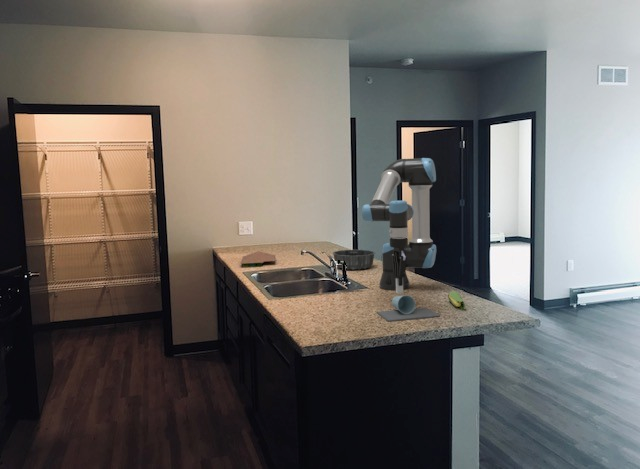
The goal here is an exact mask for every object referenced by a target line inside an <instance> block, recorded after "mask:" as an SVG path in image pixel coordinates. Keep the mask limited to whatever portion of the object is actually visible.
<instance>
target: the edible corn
mask: <svg viewBox="0 0 640 469" xmlns="http://www.w3.org/2000/svg"><path fill="white" fill-rule="evenodd" d="M447 299H448V300H449V302H451V304H452V305H453V307H455V308H457V309H458V310H461V311H463V310H465V309H466V303H465V302H464V301H463V297H462V296H461V295H460V293H459V292H457V291H451V292H449V293H448V295H447ZM458 307H459V308H458Z"/></svg>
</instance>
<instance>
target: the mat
mask: <svg viewBox="0 0 640 469" xmlns="http://www.w3.org/2000/svg"><path fill="white" fill-rule="evenodd" d="M376 314H378V316H380V317H381V318H382V319H384V320H385V321H386V322H388V323H389V322H400V321H410V320H421V319H433V318H440V317H441V315H440V314H438V313H436V312H435V311H433V310H431V309H429V308H428V307H415V309H414V311H413V312H411V313H410V314H403V313H401V312H400V311H399V310H397V309H392V310H380V311H376Z"/></svg>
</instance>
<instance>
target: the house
mask: <svg viewBox="0 0 640 469" xmlns="http://www.w3.org/2000/svg"><path fill="white" fill-rule="evenodd" d="M276 257H277V256H276V255H275V254H272V253H268V252H263V251H255V252H252V253H249V254H247V255H243V256H242V259H241V260H240V264H241V267H242V266H244V267H246V264H247V267H248V266H249V267H250V265H252V267H254V266H255V265H256V264H257V266H256V267H258V266H259V265H260V264H261V265H262V264H263V263H266V262H272V263H275V262H276V261H277V258H276ZM275 264H276V263H275Z"/></svg>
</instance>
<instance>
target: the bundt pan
mask: <svg viewBox="0 0 640 469" xmlns="http://www.w3.org/2000/svg"><path fill="white" fill-rule="evenodd" d="M332 254H333V259H334V262H335V261H338V260H340V261H346V264H347V268H346V269H345V270H347V271H350V270H351V271H352V270H353V271H355V270H358V271H360V270H367V269H369V268H371V267H372V266H373V264H374V259H375V255H376V252H375V251H374V250H368V249H367V250H366V249H343V250H337V251H336V250H335V251H333V252H332ZM337 268H338V269H340V268H342V265H338V267H337Z"/></svg>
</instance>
